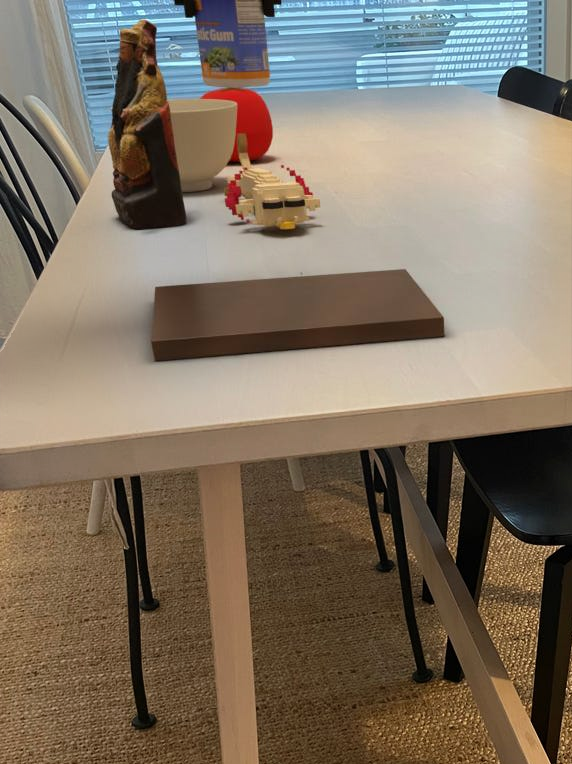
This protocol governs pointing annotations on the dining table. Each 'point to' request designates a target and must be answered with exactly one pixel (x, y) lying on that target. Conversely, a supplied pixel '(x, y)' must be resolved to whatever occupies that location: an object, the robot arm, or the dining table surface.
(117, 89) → the statue
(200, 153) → the bowl
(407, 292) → the board
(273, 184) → the axolotl toy
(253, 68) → the pill bottle
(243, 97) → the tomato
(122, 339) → the dining table surface
